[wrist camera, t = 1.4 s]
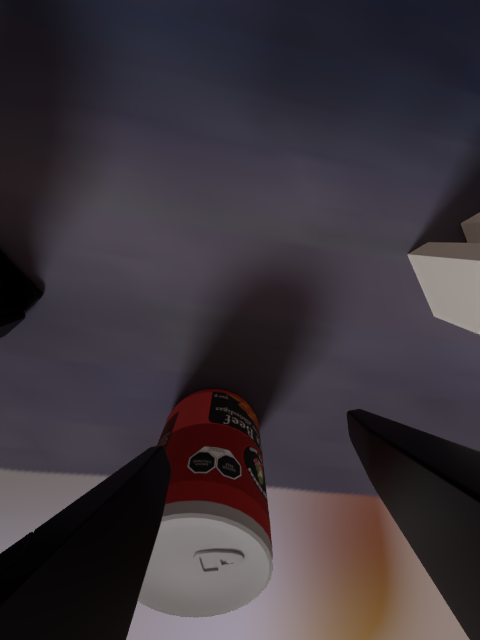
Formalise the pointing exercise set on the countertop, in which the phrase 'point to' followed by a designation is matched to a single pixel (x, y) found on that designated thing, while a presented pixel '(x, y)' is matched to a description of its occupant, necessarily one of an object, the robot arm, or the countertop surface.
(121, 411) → the countertop surface
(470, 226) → the domino
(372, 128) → the countertop surface
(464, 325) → the domino
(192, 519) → the canned food
